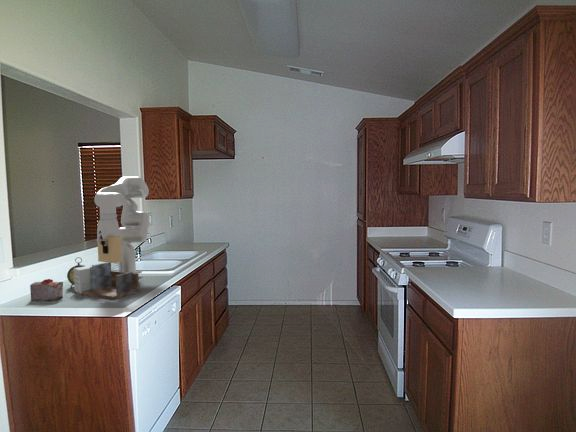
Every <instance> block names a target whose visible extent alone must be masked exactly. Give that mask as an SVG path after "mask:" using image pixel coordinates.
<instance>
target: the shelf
mask: <svg viewBox="0 0 576 432" xmlns="http://www.w3.org/2000/svg"><path fill="white" fill-rule="evenodd" d="M89 267H90V280H91V290H87V291H84V292H82V295H83V296H88V297H94V298H101V299H107V300H113V301H115V300H116V299H120V298H123V297H126V296H130V295H133V294H135V292H136V293H138V291H139V292H140V285H139V278H140V277H139V278H138V276H139V274H137V273H133V272H129V273H128V272H120V271H118V270H112V263H109V262H100V263H96V264H92V265H91V266H89ZM132 293H133V294H132Z"/></svg>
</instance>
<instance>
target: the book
mask: <svg viewBox="0 0 576 432" xmlns="http://www.w3.org/2000/svg"><path fill="white" fill-rule="evenodd" d="M101 240H102V239H101ZM104 242H105V241H104ZM107 246H108V254H105V253H103V246H102V245H101V244H100V243H99V242H97V258H98V262H100V263H105V262H109V263H111V264H118V262H122V260H121V237H118V236H114V237H109V239H108V241H107Z"/></svg>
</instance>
